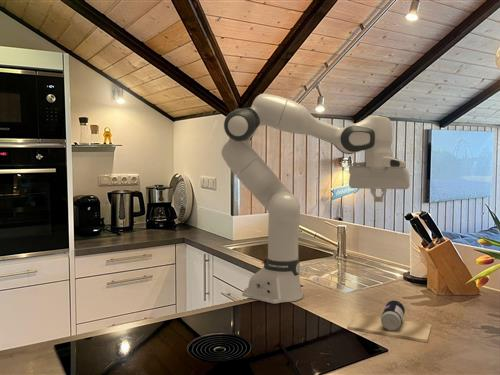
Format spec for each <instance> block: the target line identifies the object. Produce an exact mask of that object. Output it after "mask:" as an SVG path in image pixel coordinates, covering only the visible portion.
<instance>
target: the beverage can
mask: <svg viewBox="0 0 500 375" xmlns="http://www.w3.org/2000/svg"><path fill="white" fill-rule="evenodd" d="M405 310H406V309H405V306H404V305H403V304H402V303H401V302H400V301H397V300H390V301H388V302H387V303H386V304H385V307H384V309H383V312H382V314H381V316H380V317H381V322H382V324H383V326H384V327H385V328H386V329H388V330H396V329H398V328H399V327H400V326H401V323H402V320H404V319H403V318H404V315H405V312H406V311H405Z"/></svg>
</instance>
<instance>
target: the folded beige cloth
mask: <svg viewBox="0 0 500 375" xmlns="http://www.w3.org/2000/svg"><path fill="white" fill-rule="evenodd" d="M347 330H350V331H351V330H352V331H357V332H362V333H369V334H375V335H381V336H386V337H392V338H396V339H397V338H398V339H404V340H408V341H409V340H410V341H415V342H420V343H426V344H427V343H428V342H429V337H430V334H431V330H432V324H430V323H429V324H428V323H423V322H416V321H411V320H410V321H409V320H404V319H403V320H402V323H401V326H400V327H399V328H398V329H396V330H388V329H386V328H385V327H384V326H383V324H382V322H381V316H377V315H371V314H364V313H360V312H359V313H357V312H356V314H355V315H354V317H353V318H352V319H351V321H350V322H349V323H348V324H347Z"/></svg>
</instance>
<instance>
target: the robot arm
mask: <svg viewBox="0 0 500 375" xmlns="http://www.w3.org/2000/svg"><path fill="white" fill-rule="evenodd" d="M262 126H267V127H271V128H273V129H276V130H278V131H282V132H286V133H291V134H298V135H304V136H305V135H307V136H311V137H313V138H317V139H319V140H321V141H324V142H328V143H329V144H331V145H333V146H334V147H335V148H336V149H337V150H338V151H340V152H341V153H342V154H346V155H353V154H356V153H360V152H362V151H364V152H365V161H363V162H352V163H351V164H349V166H348V172H349V179H348V186H349V188H350V189H365V190H366V189H370V194H371V196H372V197H373V202H374V203H383V202H384V196H385V195H386V193H387V190H408V189H409V188H410V187H411V186H410V185H411V184H410V174H409V170H408V169H407V168H406V166H407V162H406V161H405V160H402V159H399V158H397V157H393V150H392V143H393V126H392V121H391V119H390V118H389V117H388V116H385V115H381V114H370V115H368V116H367V117H365V118H364V119H363V120H360V121H359V122H356V123H353V124H351V125H347V126H344V127H343V126H342V127H340V126H336V125H334V124H330V123H328V122H325V121H323V120H320V119H318V118H316V117H315V116H313V114H311V113H310V111H309V110H308V109H307V108H306V107H305V106H304V105H302V104H300V103H299V102H297V101H295V100H292V99H289V98H286V97H283V96H279V95H275V94H270V93H269V94H268V93H260V94H259V95H257V96H256V97H255V98H254V100H253V102H252V104H251V106H250V107H244V108H237V109H234V110H233V111H231V112H229V113H228V114H227V115H226V117H225V119H224V121H223V129H224V132H225V134H226V136H227V137H229V139H228V140H227V141H226V142H225V143H224V145H223V147H222V148H221V151H220V152H221V153H220V154H221V157H222V158H223V160H224V162H225V163H226V165H227V166H228V168H229V169H230V170H231V172H232V173H233V174H234V175H235V176H236V178H237V179H238V180H239V181H240V182H241V184H242V185H244V187H245V188H246V189H247V190H248V191H249V192H250V193H251V195H252V196H253V197H254V198H255V199H256V200H257V201H258V202H259V203H260V204H261V206H263V207H264V209H265V210H267V212H268V231H267V232H268V233H267V256H266V258H264V259H263V260H261V265H263V267H262V268H261V269H259V270H258V271H257V272H255V273H254V274H253V275H252V276H250V278H249V281H248V286H247V287H246V288H245V289H243V291H242V293H241V295H242V297H246V298H248V299H253V300H257V301H261V302H266V303H270V304H280V303H290V302H296V301H298V300H301V299H303V297H304V294H303V292H302V287H301V281H300V270H301V263H300V262H301V261H300V258H299V234H300V220H301V219H300V217H301V204H300V201H299V199H298V197H297V196H296V195H295V194H293V193H292V192H291V191H290V190H289V189H288V188H287V187H286V185H285V184H284V183H283V182H282V181H281V179H280V178H279V177H278V176H277V175H276V174H275V172H274V171H273V170H272V169H271V168H270V167H269V165H268V164H267V163H266V162H265V161H264V159H262V158H261V156H260V155H259V154H258V153H257V152H256V150H254V148H253V147H252V145H251V140H252V138H253V137H254V135H255V134H256V132H257V130H258V128H259V127H262ZM378 189H379V190H381V192H380V193H382V194H381V195H380V196H377V195H376V191H377V190H378Z"/></svg>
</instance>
